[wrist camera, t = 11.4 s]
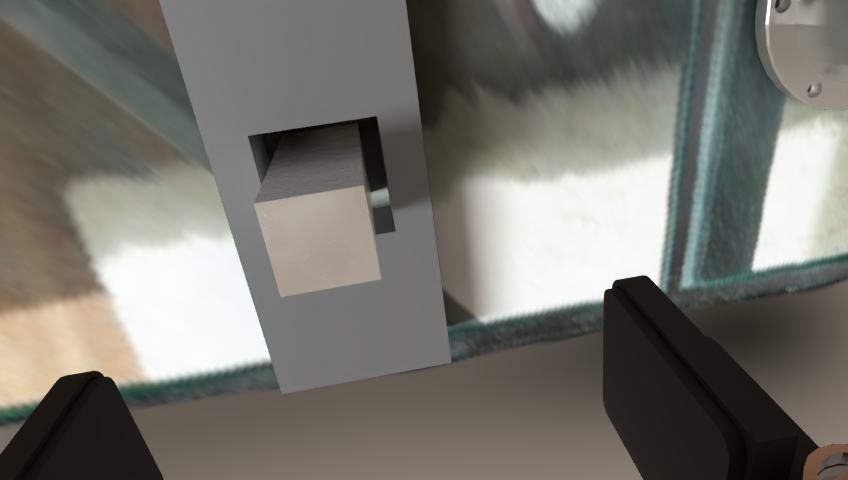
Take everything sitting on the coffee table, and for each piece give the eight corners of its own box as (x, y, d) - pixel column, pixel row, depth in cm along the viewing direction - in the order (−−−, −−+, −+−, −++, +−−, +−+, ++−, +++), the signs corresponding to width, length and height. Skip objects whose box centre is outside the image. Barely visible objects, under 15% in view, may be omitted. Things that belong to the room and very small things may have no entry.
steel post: (357, 122, 29) (363, 185, 20) (370, 192, 30) (381, 279, 21) (282, 134, 28) (253, 203, 19) (299, 204, 30) (280, 297, 21)
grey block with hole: (384, -105, 24) (390, -118, 21) (442, 328, 35) (451, 362, 32) (160, -77, 24) (132, -86, 21) (287, 356, 34) (281, 393, 31)
